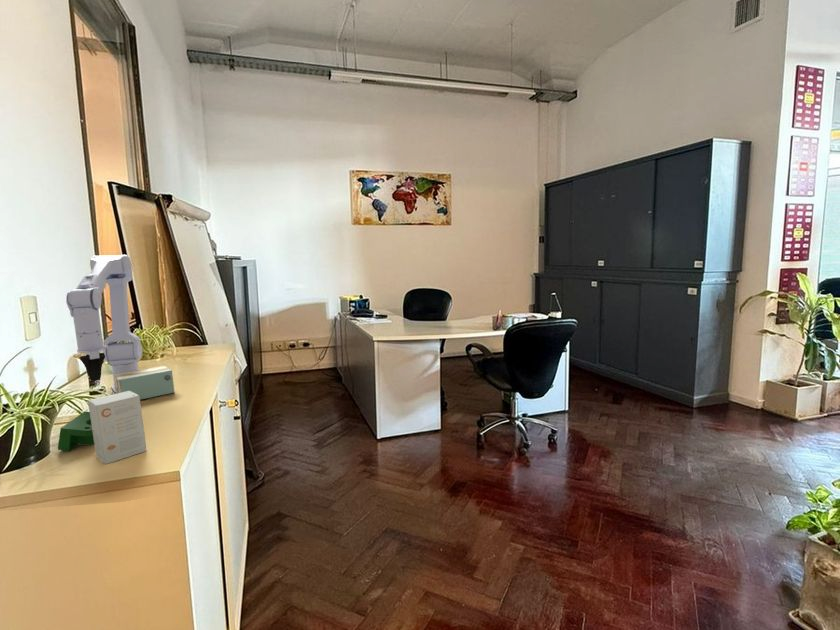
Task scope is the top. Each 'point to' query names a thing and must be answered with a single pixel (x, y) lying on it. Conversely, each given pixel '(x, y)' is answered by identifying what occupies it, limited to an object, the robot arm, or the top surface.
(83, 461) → the top surface
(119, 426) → the small box
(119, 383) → the cabinet
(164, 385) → the door
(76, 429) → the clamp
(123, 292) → the robot arm
